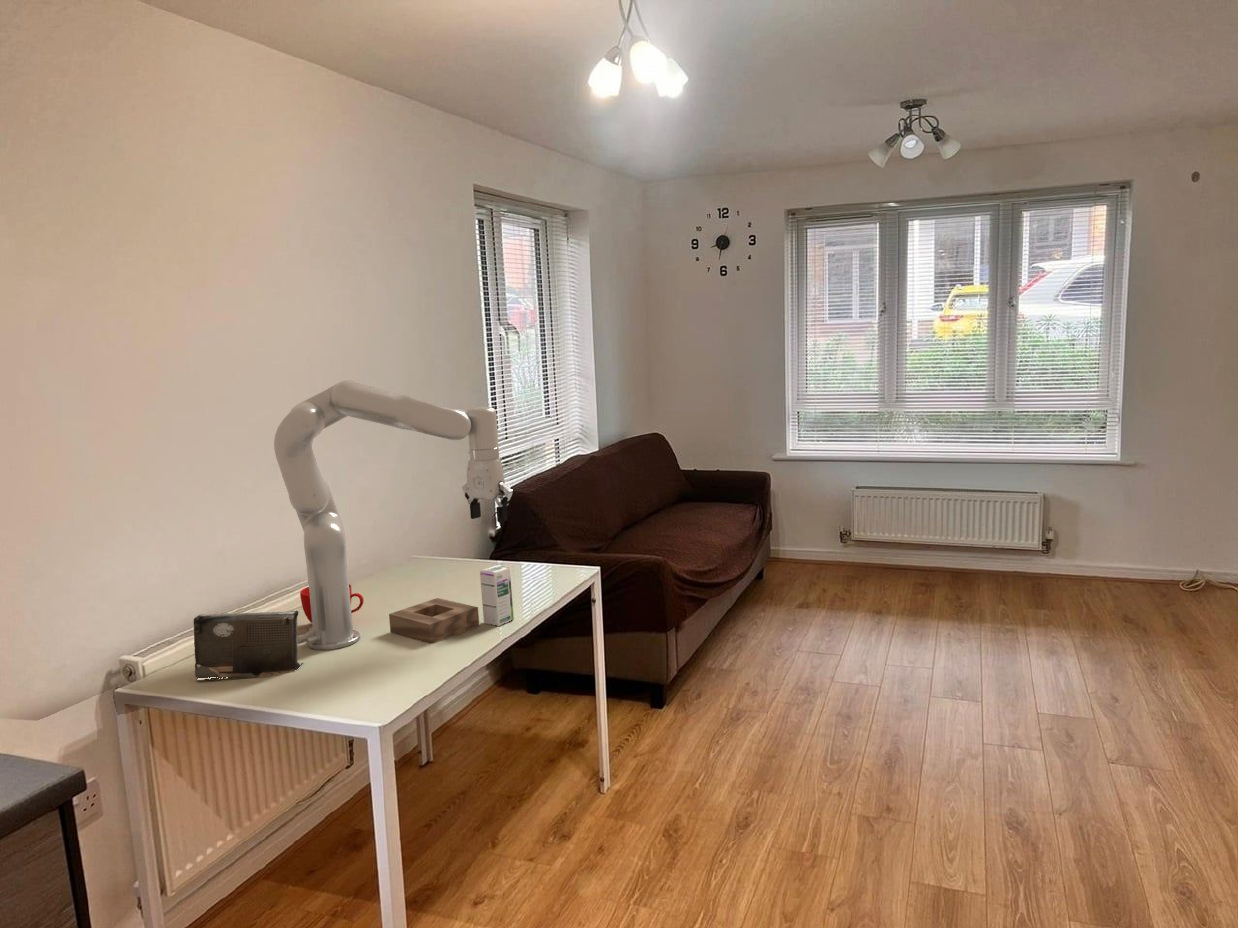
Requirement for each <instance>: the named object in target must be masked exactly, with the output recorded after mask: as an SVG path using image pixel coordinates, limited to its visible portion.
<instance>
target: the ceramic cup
mask: <svg viewBox="0 0 1238 928" xmlns="http://www.w3.org/2000/svg"><path fill="white" fill-rule="evenodd" d="M349 591H350V602H351V603H352V598H353V597H357V598H358V599H359V604H358V605H357V607H356V608H353V609H351V614H353V613H355V612H358V611H359V610H360V609H361V608H362V606H363V604H364V597H363V595H362V594H360V593H357V592H354V593H352V584H351V583H349ZM299 594H300V595H299V597H300V602H301V607H302V610H303V613H304V615H305V617H306V619H307V620H308V621H309V623H311V624H312V615H311V605H310V594H309V586H306V587H304V588H302V589H301V590H300V593H299Z"/></svg>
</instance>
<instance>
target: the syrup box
mask: <svg viewBox="0 0 1238 928" xmlns="http://www.w3.org/2000/svg"><path fill="white" fill-rule="evenodd" d="M479 578H480V579H479V580H480V589H481V591H480V592H481V593H480V594H481V600H482V601H481V604H482V614H483V615H482V616H483V623H485V624H487V623H488V625H491V624H492V626H495V625H497V626H496V627H501V625H504V623H505V624H507V623H509V621H510V622H511V620H513V621H514V620H515V617H514V606H513V605H514V604H513V603H514V602H513V593H512V592H513V591H512V590H513V589H512V579H511V578H512V577H511V568H510V567H509V566H505V565H504V566H503V565H497V564H496V565H493V566H491V567H486V568H484V569H481V570H479Z"/></svg>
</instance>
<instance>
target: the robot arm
mask: <svg viewBox="0 0 1238 928" xmlns="http://www.w3.org/2000/svg"><path fill="white" fill-rule="evenodd" d="M346 417H349V418H355V419H359V420H364V421H369V422H372V423H375V424H376V423H377V424H381V425H385V426H389V427H392V428H393V427H394V428H397V429H401V430H405V431H406V430H407V431H414V432H417V433H420V434H426V435H429V436H433V437H436V438H437V437H438V438H441V439H444V440H445V439H446V440H449V441H450V440H451V441H461V440H463V439H465V438H466V437H467V436H468V446H469V447H468V450H469V451H468V455H469V460H468V462H467V467H466V483H465V484H464V485H462V486H461V488H462V491H463V494H464V497H465V498H466V500H467V504H468V505H469V511H470V513H469V514H470V519H471V520H475V519H479V518H481V516H482V514H481V513H482V512H481V502H479V500H485V501H487V500H488V501H493V500H494V501H495V503H496V505H497V507H496V509H495V510H496V521H497V522H498V523H502V522H506V521H508V508H507V507H508V506H509V504H510V501H511V500H512V496H513V492H514V491H513V489H511V488H510V487H509V486H507V485H506V483H505V473H504V469H503V465H502V461H501V459H500V450H499V449H500V448H499V447H500V446H499V436H498V435H499V433H498V420H497V419H498V417H497V412H496V409H495V408H494V407H490V406H481V407H474V408H452V407H451V408H449V407H445V406H439V405H436V404H432V403H428V402H425V401H422V400H420V399H417V398H414V397H411V396H409V395H407V394H403V393H401V392H395V391H392V390H387V389H385V388H384V389H383V388H379V387H375V386H371V385H367V384H363V383H359V382H357V381H354V380H353V381H352V380H350V379H349V380H348V379H347V380H341V381H339V382H337V383H335V384H333V385H332V386H330V387H328V388H327V389H325V390H323V391H321V392H319V393H317V394H315V395H313V396H311V397H309V398H307V399H305V400H303V401H301V402H300V403H297V404H296V405H295V406H293V407H292V408H291V410H290V411H289V413H287V415H286V416H285V417H283V419H282V421H281V422H280V423H279V425H278V427H277V429H276V432H275V433H274V440H273V449H274V454H275V459H276V461H277V464H278V467H279V471H280V473H281V477H282V479H283V482H284V485H285V487H286V490H287V491H286V492H287V494H288V498H289V501H290V504H291V507H292V508H293V509H294V510H295V512H296V515H297V517H298V520H299V523H300V525H301V528H302V531H303V546H304V548H303V549H304V555H305V557H304V558H305V564H306V572H307V584H308V587H309V594H310V605H311V615H312V623H311V624H312V626H310V627H308V631H307V632H306V633H304V634H300V635H297V645H300V644H303V643H305V642H306V644H307V646H308V647H309V648H311V649H313V650H321V651H322V650H326V651H328V650H335V649H340V648H345V647H347V646H350V645H353V644H355V643H357V642H358V641H359V640H360V638H361V634H360V632H359V631H358V630H356V629H354V626H353V617H352V616H353V615H352V614H353V613H351V610H352V601H351V602H350V591H349V584H350V583H349V571H348V570H349V569H348V560H347V545H346V543H347V542H346V541H347V540H346V533H345V530H344V529H345V528H344V525H343V522H342V519H341V517H340V514H339V511H338V508H337V505H336V503H335V500H334V497H333V494H332V491H331V490H330V489H331V488H330V486H329V484H328V481H326V479H325V478H324V477H323V476H322V474H321V472H320V469H319V466H318V463H317V460H316V457H315V454H314V451H313V441H314V440H315V438H316V437H317V436H319V435H320V434H321V433H322V431H323V430H324V429H327V428H329V427H330V426H331V425H333V424H336V423H337V422H339V421H341V420H343V419H345V418H346Z"/></svg>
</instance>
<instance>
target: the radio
mask: <svg viewBox="0 0 1238 928" xmlns="http://www.w3.org/2000/svg"><path fill="white" fill-rule="evenodd" d="M298 616H299V611H298V610H292V611H271V612H268V611H266V612H261V611H259V612H244V613H242V612H241V613H226V612H225V613H222V612H221V613H211V614H198V615H197V616H195V617H194V618H193V637H194V638H193V641H194V643H193V645H194V661H195V663H194V676H195V678H196V680H197V679H198V678H208V677H209V678H210V677H216V678H211V679H219V678H220V679H221V678H222V677H223V679H222V680H225V679H224V678H226V677H228V678H237V679H247V678H248V679H250V678H251V679H252V678H263V677H264V678H265V677H272V676H274V675H279V674H284V673H295V672H296V671H295V670H297V669H298V668H299V667H300V666H301V667H302V665H301V663H302V662H298V644H297V636H298ZM301 667H300V668H301ZM300 668H299V669H300ZM299 669H298V670H299ZM298 670H297V671H298ZM294 671H295V672H294ZM217 677H218V678H217ZM205 680H207V681H210V680H209V679H205Z"/></svg>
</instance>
